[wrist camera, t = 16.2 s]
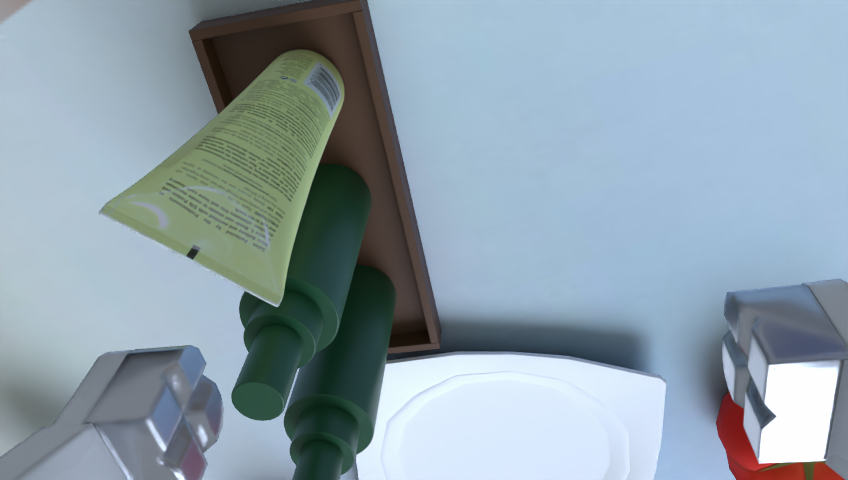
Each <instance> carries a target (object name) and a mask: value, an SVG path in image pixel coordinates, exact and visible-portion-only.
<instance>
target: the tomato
mask: <svg viewBox="0 0 848 480" xmlns="http://www.w3.org/2000/svg"><path fill="white" fill-rule="evenodd" d="M743 423H744V408H742V407H741V406H739V405H738V404H736V403H735V402H733V399H732V397H731V394H730V391H728V393H727V394H726V395H725V396H724V397H723V400H722V404H721V407H720V410H719V414H718V417H717V421H716V425H717V430H718V435H719V438H720V440H721V442H722V444H723V446H724V448H725V450H726V453H727V458H728V464H729V469H730V470H731V472H732V474H733V475H734V477H735V478H736V480H845V479H844V478H842V477H841V476H840V475H839V474H837V473H836V472H835V471H834V470H833V469H831V468H830V467H829V466H828V465H826V464H825V463H826V461H808V462H781V463H759V462H758V460H757V457H756V455H755V453H754V450H753V448H752V445H751V443H750V441H749V438H748V436H747V433H746V431H745V429H744V426H743Z"/></svg>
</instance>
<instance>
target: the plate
mask: <svg viewBox="0 0 848 480" xmlns="http://www.w3.org/2000/svg"><path fill="white" fill-rule="evenodd" d="M665 392H666V381H665V380H664V379H663V378H662V377H661V376H660V375H656V374H652V373H647V372H642V371H637V370H633V369H628V368H623V367H618V366H614V365H609V364H604V363H599V362H595V361H590V360H585V359H581V358H576V357H571V356H562V355H550V354H537V353H524V352H449V353H442V354H434V355H426V356H419V357H411V358H403V359H396V360H388V361H386V365H385V371H384V377H383V383H382V389H381V395H380V400H379V406H378V412H377V418H376V424H375V430H374V436H373V439H372V441H371V443H370V444H369V446H368V447H367V448H366V449H365V450H364V451H362V452H361V453H359V454H357V455H356V463H357V470H358V478H359V480H654V476H655V472H656V466H657V461H658V456H659V451H660V446H661V440H662V429H663V416H664V404H665Z"/></svg>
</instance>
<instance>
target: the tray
mask: <svg viewBox="0 0 848 480" xmlns="http://www.w3.org/2000/svg"><path fill="white" fill-rule="evenodd" d="M189 34H190V37H191V40H192V43H193V45H194V48H195V51H196V54H197V56H198V59H199V62H200V65H201V68H202V70H203V73H204V76H205V79H206V82H207V84H208V87H209V90H210V93H211V95H212V98H213V101H214V104H215V107H216V109H217V112H218V114H219V113H220V112H222V111H223V110H224V109H225V108H226V107H227V106H228V105H229V104H230V103H231V102H232V101H233V100H234V99H235V98H236V97H238V96H239V95H240V94H241V93H242V92H243V91H244V90H245V89H246V88H247V87H248V86H249V85H250V84H251V83H252V82H253V81H254V80H255V79H256V78H257V77H258V76H259V75H260V74H261V73H262V72H263V71H264V70H265V69H266V68H267V67H268V66H269V65H270V64H271V63H272V62H273V61H274V60H275V59H276V58H277V57H278V56H280V55H281V54H283V53H285V52H288V51H291V50H297V49H304V50H310V51H314V52H316V53H318V54H320V55H322V56H324V57H325V58H327V59H328V60H329V61H330V62H331V63H332V64H333V65H334V66H335V67H336V69H337V70H338V72H339V73H340V75H341V78H342V80H343V84H344V101H343V104H342V107H341V110H340V112H339V114H338V117H337V119H336V122H335V124H334V126H333V129H332V131H331V134H330V136H329V139H328V141H327V144H326V146H325V149H324V151H323V154H322V156H321V159H320V162H319V164H318V165H321V164H338V165H342V166H345V167H347V168H350V169H351V170H353V171H355V172H356V173H357V174H358V175H360V176H361V177H362V179H363V180H364V181H365V182H366V184H367V186H368V188H369V190H370V193H371V198H372V205H371V210H370V214H369V217H368V221H367V225H366V228H365V232H364V236H363V240H362V243H361V247H360V251H359V254H358V258H357V262H356V265H365V266H370V267H373V268H375V269H377V270H379V271H381V272H383V273H384V274H385V275H386V276H387V277H388V278H389V279H390V280H391V281H392V283H393V285H394V287H395V290H396V294H397V299H396V305H395V311H394V317H393V323H392V329H391V335H390V341H389V347H388V353H387V354H393V353H402V352H412V351H422V350H431V349H440V342H441V327H440V323H439V318H438V314H437V309H436V305H435V300H434V296H433V292H432V287H431V283H430V278H429V274H428V269H427V265H426V260H425V256H424V252H423V247H422V243H421V238H420V234H419V229H418V225H417V220H416V216H415V212H414V207H413V203H412V198H411V194H410V189H409V185H408V180H407V176H406V172H405V167H404V163H403V158H402V154H401V149H400V145H399V141H398V136H397V132H396V127H395V123H394V118H393V114H392V109H391V105H390V101H389V96H388V92H387V87H386V83H385V78H384V74H383V69H382V65H381V61H380V56H379V52H378V47H377V43H376V38H375V34H374V30H373V25H372V21H371V16H370V12H369V7H368V3H367V0H314V1H309V2H303V3H298V4H293V5H287V6H282V7H276V8H271V9H266V10H260V11H255V12H250V13H244V14H239V15H233V16H228V17H223V18H217V19H212V20H207V21H201V22H200V23H198V24H197V25H196V26H194V27H193V28H192V29H191V30H189Z"/></svg>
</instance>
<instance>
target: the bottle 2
mask: <svg viewBox="0 0 848 480" xmlns="http://www.w3.org/2000/svg"><path fill="white" fill-rule="evenodd" d="M396 299H397V294H396V290H395V287H394V285H393V283H392V281H391V280H390V279H389V278H388V277H387V276H386V275H385V274H384V273H383V272H381V271H379V270H377V269H375V268H373V267H370V266H365V265H356V266H355V269H354V273H353V277H352V280H351V284H350V288H349V292H348V295H347V299H346V303H345V307H344V310H343V314H342V318H341V321H340V325H339V329H338V332H337V334H336V337H335V338H334V339H333V341H332V342H331V343H330V344H329V345H328V346H327V347H325V348H324V349H322V350H320V351H318V352H316V353H315V354H314V357H313V358H312V359H311V360H310V362H308V363H307V364H306V365H304V366H302V367H300V369H299V372H298V375H297V379H296V382H295V385H294V388H293V391H292V394H291V397H290V401H289V404H288V407H287V410H286V413H285V417H284V427H285V430H286V433H287V435H288V437H289V438H290V440H291V441H292V443H291V446H290V456H291V458H292V460H293V462H294V463H295V464H296V469H295V473H294V477H293V480H340V475H342V474H344V473H346V472H347V471H348V470H350V469H351V467H352V466H353V464H354V461H355V456H356V455H357V454H359V453H361V452H362V451H364V450H365V449H366V448H367V447H368V446H369V444H370V443H371V441H372V439H373V436H374V430H375V424H376V418H377V412H378V406H379V400H380V395H381V389H382V383H383V377H384V371H385V365H386V359H387V353H388V347H389V341H390V335H391V329H392V323H393V317H394V311H395V305H396Z"/></svg>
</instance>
